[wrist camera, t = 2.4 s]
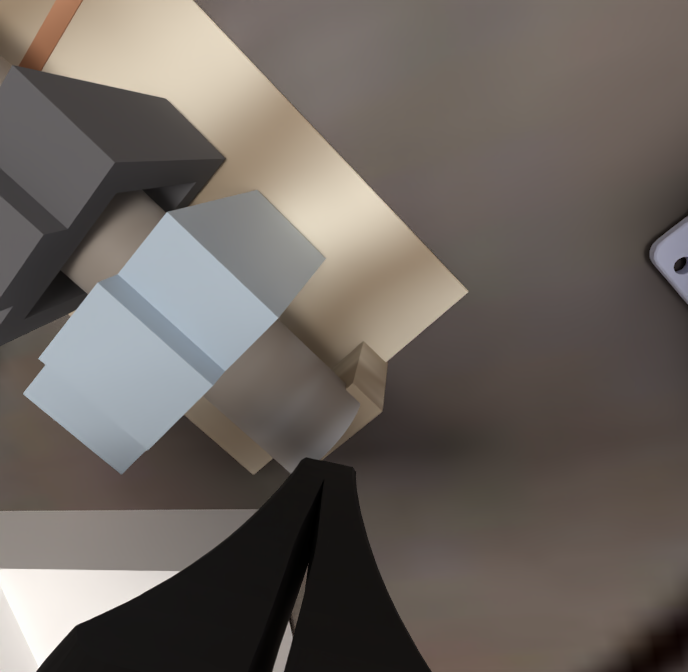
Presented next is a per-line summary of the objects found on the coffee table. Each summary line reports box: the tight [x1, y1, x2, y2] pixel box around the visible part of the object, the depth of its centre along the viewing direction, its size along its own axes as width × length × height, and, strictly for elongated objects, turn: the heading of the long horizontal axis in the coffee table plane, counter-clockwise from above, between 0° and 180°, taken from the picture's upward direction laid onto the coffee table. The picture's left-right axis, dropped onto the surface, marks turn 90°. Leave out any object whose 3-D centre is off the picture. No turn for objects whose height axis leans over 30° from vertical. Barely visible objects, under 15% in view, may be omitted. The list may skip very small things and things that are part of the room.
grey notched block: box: [0, 65, 226, 346], centre depth 13 cm, size 2×6×7 cm, turn 136°
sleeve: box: [23, 190, 326, 475], centre depth 13 cm, size 3×6×7 cm, turn 135°
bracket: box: [0, 509, 293, 672], centre depth 19 cm, size 13×7×8 cm, turn 97°
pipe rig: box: [0, 0, 469, 475], centre depth 14 cm, size 18×11×5 cm, turn 45°
